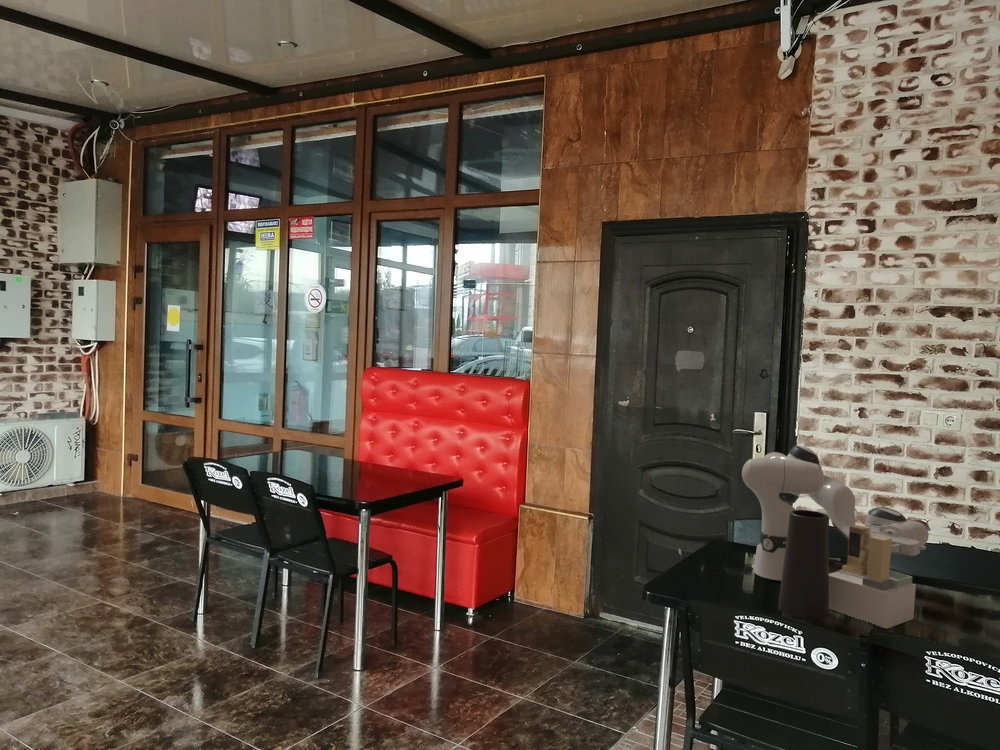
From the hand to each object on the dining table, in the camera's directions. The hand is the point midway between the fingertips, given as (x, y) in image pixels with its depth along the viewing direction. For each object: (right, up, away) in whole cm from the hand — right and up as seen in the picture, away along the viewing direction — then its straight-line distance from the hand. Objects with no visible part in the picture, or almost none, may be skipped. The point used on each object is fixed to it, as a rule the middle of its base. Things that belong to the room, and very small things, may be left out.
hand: (871, 544), depth 243 cm
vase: (-24, -18, -9) cm, 31 cm away
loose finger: (-5, -7, -3) cm, 10 cm away
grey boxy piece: (-5, -18, -8) cm, 20 cm away
